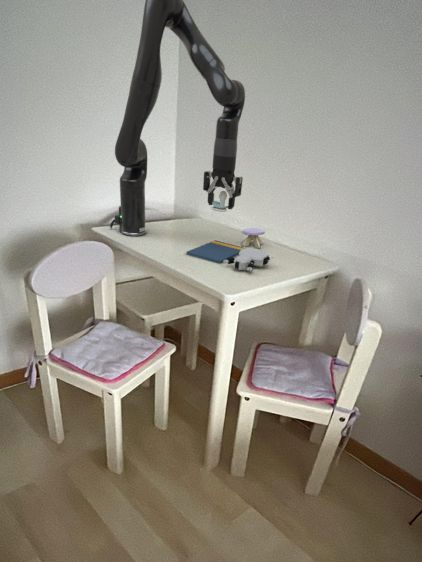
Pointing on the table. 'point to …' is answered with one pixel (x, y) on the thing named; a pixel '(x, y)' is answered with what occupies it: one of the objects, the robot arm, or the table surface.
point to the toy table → (253, 236)
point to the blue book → (215, 251)
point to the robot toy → (249, 259)
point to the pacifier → (221, 205)
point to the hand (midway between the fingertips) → (220, 206)
